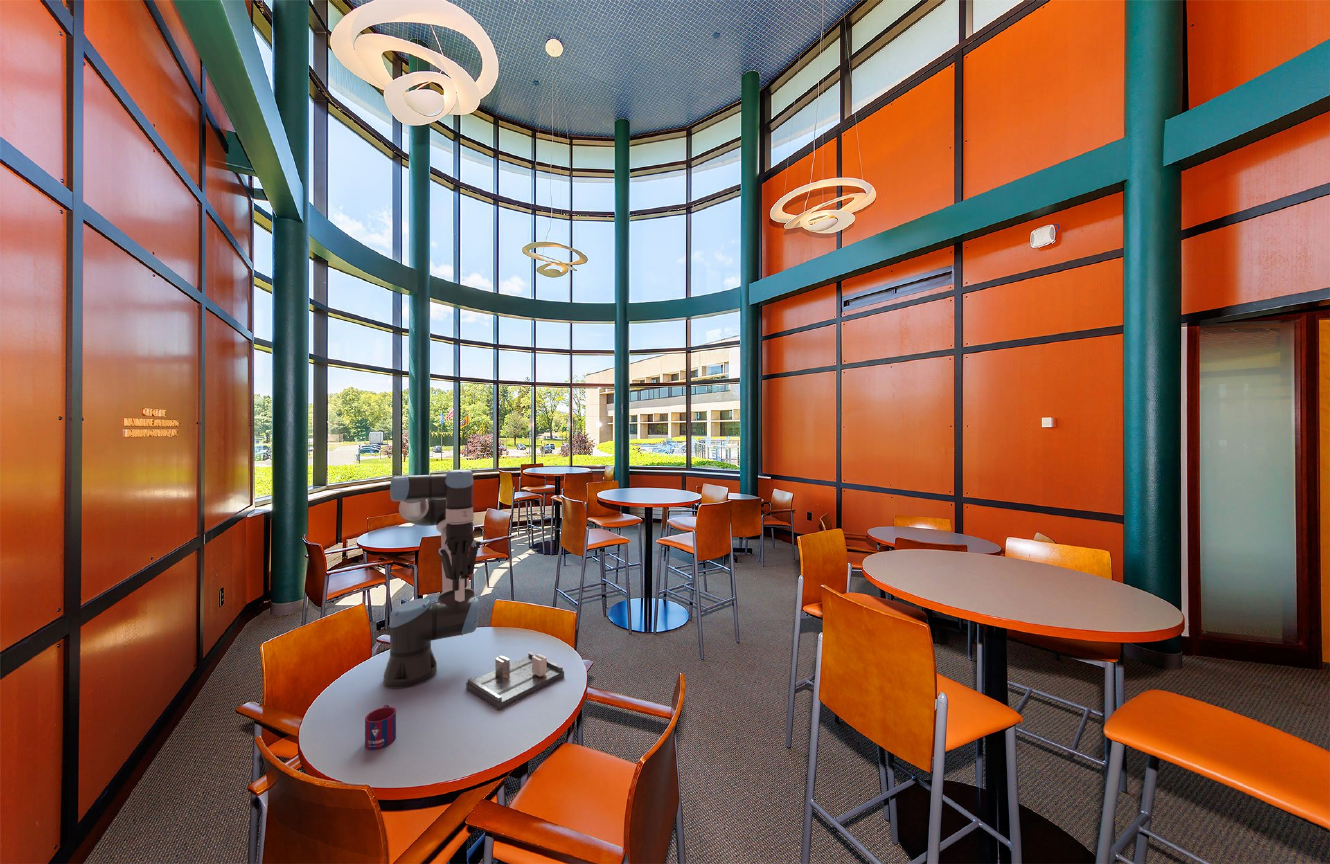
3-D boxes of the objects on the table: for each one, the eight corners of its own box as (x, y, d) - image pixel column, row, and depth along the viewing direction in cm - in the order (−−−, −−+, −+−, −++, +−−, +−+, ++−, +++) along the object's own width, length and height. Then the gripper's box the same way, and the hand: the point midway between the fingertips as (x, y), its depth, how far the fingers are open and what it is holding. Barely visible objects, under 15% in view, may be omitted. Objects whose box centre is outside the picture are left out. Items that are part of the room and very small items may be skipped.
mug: (360, 751, 113) (360, 723, 114) (377, 726, 123) (377, 701, 123) (390, 747, 115) (390, 720, 115) (404, 723, 125) (404, 698, 125)
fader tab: (532, 672, 146) (532, 655, 146) (538, 669, 148) (538, 652, 148) (540, 676, 144) (539, 659, 144) (546, 673, 146) (546, 656, 146)
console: (466, 689, 141) (466, 664, 141) (530, 660, 159) (530, 639, 159) (499, 710, 130) (498, 683, 130) (564, 677, 148) (564, 653, 148)
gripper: (445, 527, 131) (445, 609, 131) (486, 519, 142) (486, 596, 142) (431, 523, 135) (431, 603, 136) (472, 516, 146) (472, 591, 146)
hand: (459, 599), depth 139 cm, fingers closed
